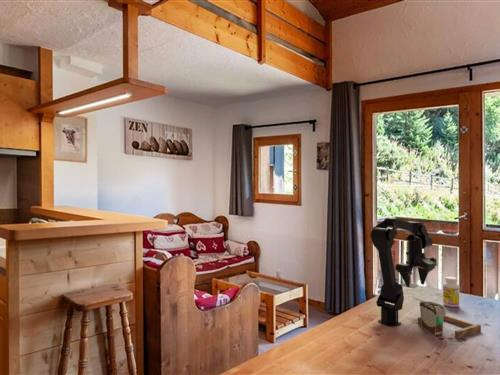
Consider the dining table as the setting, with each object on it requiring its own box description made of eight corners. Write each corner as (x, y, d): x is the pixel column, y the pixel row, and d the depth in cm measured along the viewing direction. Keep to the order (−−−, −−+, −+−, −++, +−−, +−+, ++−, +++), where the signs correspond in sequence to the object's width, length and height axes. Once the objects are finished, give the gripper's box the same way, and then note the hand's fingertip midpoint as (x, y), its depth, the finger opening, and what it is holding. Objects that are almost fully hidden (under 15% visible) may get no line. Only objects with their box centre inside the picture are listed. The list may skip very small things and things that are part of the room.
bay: (457, 338, 135) (457, 331, 135) (417, 323, 150) (417, 317, 150) (480, 331, 142) (480, 325, 142) (440, 317, 157) (440, 312, 157)
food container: (453, 337, 136) (453, 310, 136) (437, 338, 136) (437, 311, 136) (434, 325, 148) (433, 300, 148) (419, 325, 148) (419, 300, 148)
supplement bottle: (439, 304, 175) (439, 276, 175) (449, 302, 178) (449, 275, 178) (452, 308, 169) (452, 280, 169) (462, 306, 172) (462, 278, 172)
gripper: (415, 255, 151) (416, 293, 151) (445, 251, 160) (446, 287, 160) (394, 250, 161) (394, 286, 161) (423, 247, 170) (423, 281, 170)
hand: (415, 285), depth 163 cm, fingers open, 9 cm apart
